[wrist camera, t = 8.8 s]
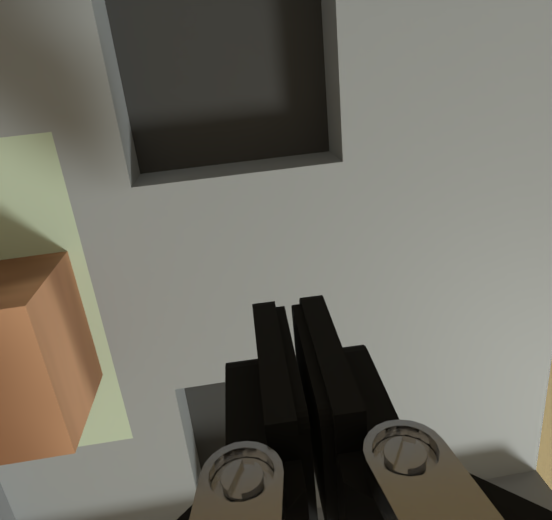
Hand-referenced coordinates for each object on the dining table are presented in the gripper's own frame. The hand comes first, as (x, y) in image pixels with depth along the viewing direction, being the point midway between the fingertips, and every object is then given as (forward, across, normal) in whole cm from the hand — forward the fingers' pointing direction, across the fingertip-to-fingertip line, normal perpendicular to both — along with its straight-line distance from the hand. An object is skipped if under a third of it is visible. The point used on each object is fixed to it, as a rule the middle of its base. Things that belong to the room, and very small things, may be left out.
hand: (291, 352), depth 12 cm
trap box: (+9, +1, +1) cm, 9 cm away
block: (+6, +9, +2) cm, 11 cm away
